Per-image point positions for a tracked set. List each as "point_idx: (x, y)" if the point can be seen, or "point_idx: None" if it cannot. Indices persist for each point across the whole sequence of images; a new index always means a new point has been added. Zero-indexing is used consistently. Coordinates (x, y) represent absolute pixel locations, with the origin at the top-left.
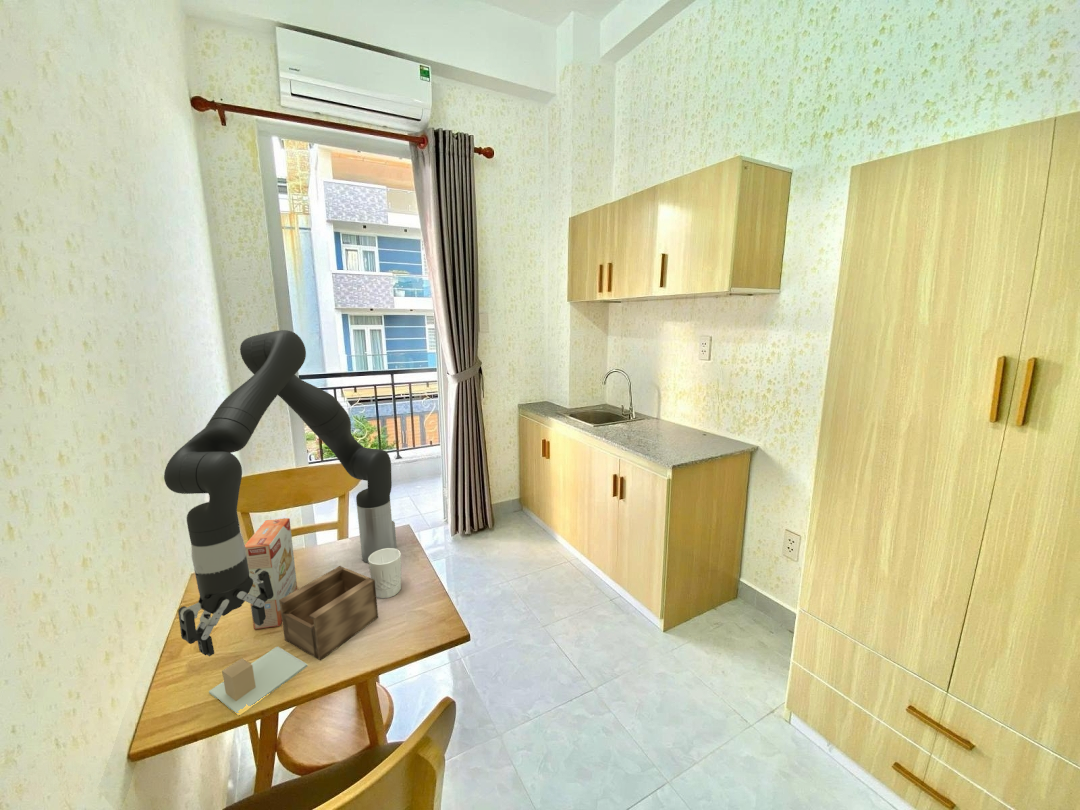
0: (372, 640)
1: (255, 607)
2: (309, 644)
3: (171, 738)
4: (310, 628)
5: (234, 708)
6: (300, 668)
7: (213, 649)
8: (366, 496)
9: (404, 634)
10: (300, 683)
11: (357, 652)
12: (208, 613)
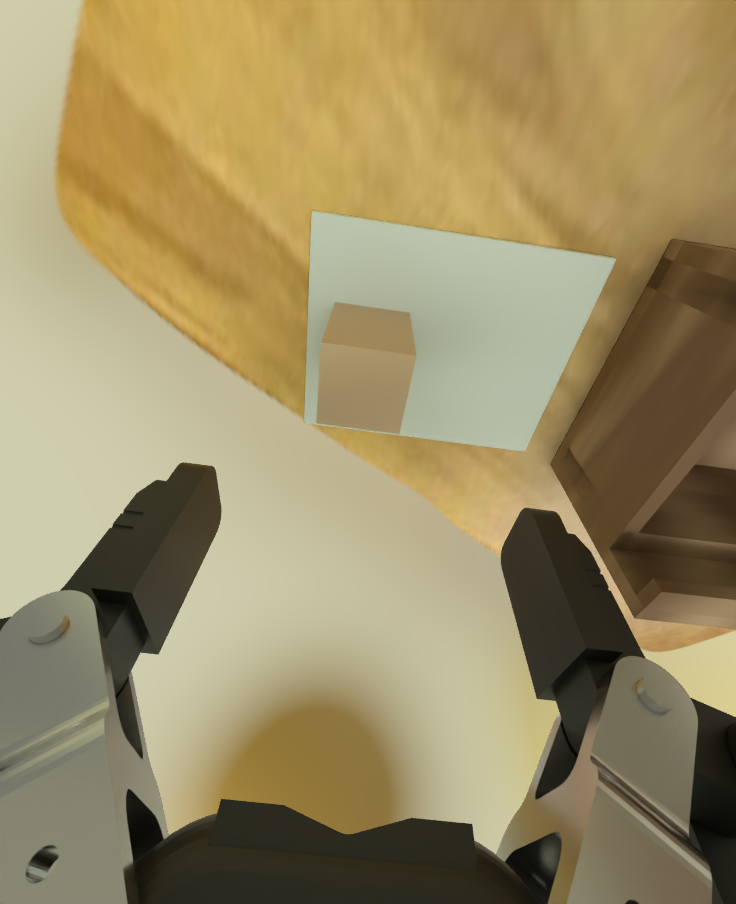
0: None
1: (568, 675)
2: (593, 447)
3: (148, 296)
4: (622, 525)
5: (310, 392)
6: (503, 446)
7: (206, 550)
8: None
9: None
10: (455, 475)
11: None
12: (78, 858)
